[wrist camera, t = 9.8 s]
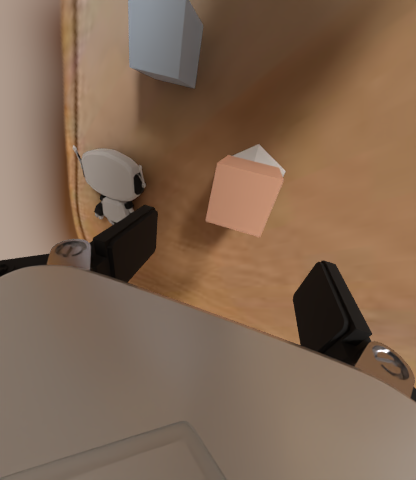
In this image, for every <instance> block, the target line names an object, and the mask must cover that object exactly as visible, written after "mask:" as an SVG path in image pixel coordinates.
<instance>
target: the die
mask: <svg viewBox="0 0 416 480" xmlns="http://www.w3.org/2000/svg"><path fill="white" fill-rule="evenodd" d="M233 156H234V157H238V158H242V159H246V160H250V161H254V162H258V163H262V164H266V165H270V166H274V167H278V168H279V169H280V171H281V174H282V176H284V174H285V170H284V169H283V168H282V167H281V166H280V165H279V164H278V163H277V162H276V161H275V160H274V159H273V158H272V157H271V156H270V155H269V154H268V153H267V152H266V151H265V150H264V149H263V148H262V147H261V146H260V145H259V144H258V145H256V146H253V147H251V148H249V149H246V150H244V151H242V152H240V153H237V154H235V155H233Z"/></svg>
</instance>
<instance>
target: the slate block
mask: <svg viewBox="0 0 416 480" xmlns="http://www.w3.org/2000/svg"><path fill="white" fill-rule="evenodd" d="M128 14H129V63H130V68H132V69H135V70H137V71H139V72H141V73H143V74H145V75H148V76H150V77H152V78H154V79H157V80H161V81H165V82H169V83H173V84H177V85H182V86H186V87H190V88H194V89H195V84H196V77H197V70H198V62H199V55H200V47H201V40H202V32H203V24H202V22H201V20H200V19H199V17H198V15H197V13H196V12H195V10H194V8H193V6H192V5H191V3H190V1H189V0H128Z"/></svg>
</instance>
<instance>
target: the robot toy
mask: <svg viewBox="0 0 416 480" xmlns="http://www.w3.org/2000/svg"><path fill="white" fill-rule="evenodd" d="M73 149H74V151H75V153H76V155H77V157H78V159H79V161H80V163H81V165H82V166H81V167H82V169H83V173H84V177H85V179H86V182H87V183H88V184H89V185H90V186H91V187H92V188H93V189H94V190H96V191H97V192H99V193H100V194H101V196H100V200H101V202H100V203H99V204H97V206H96V208H95V211H94V212H95V216H96V217H99V219H103V217H104V215H105V216H106V217H107V219H108V220H109V222H110V223H111V224H112V225H114V224H116V223H117V222H119V221H120V220H122V219H123V218H125V217H126V216H128V215H130V214H131V213H133V212H134V210H133V208H132V207H133V206H134V205H133V203H132V201H131V200H133V199H135V198H137V197H138V196H140V194H141V193H142V192H143V191H144V188H145V187H146V183H144V177H143V173H142V166H141V165H139V166H138V165H137V164H136V163H135V162H134V160H132V159H131V158H129V157H128V156H126V155H124V154H122V153H120V152H118V151H116V150H113V149H95V150H91V151H87V152H85V153H84V154H83V157H82V159H81V158H80V156H79V154H78V152H77V148H76V147H75V146H74V145H73Z"/></svg>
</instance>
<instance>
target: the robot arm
mask: <svg viewBox="0 0 416 480" xmlns="http://www.w3.org/2000/svg"><path fill="white" fill-rule="evenodd" d="M157 217H158V212H157V211H155V208H154V207H151V206H147V205H144V206H142V207H140V208H139V209H137V210H136V211H134V212H133V213H131V214H130V215H128V216H126V217H125V218H123V219H122V220H120V221H119V222H117V223H116V224H114V225H113V226H111V227H109V228H108V229H106V230H105V231H103V232H102V233H100V234H99V235H97V236H95V237H94V238H93V241H92V242H90V243H89V242H88V241H85V240H81V239H71V240H65V241H62V242H60V243H58V244H56V245H55V246H53V247H52V249H51V251H50V254H44V255H37V256H30V257H23V258H15V259H8V260H2V261H0V480H416V389H415V388H414V383H415V377H414V375H413V372H412V370H411V369H410V367H409V366H408V364H407V363H406V362H405V361H404V360H403V358H402V357H401V356H400V355H398V354H397V353H396V352H395V351H394V350H392V349H391V348H389V347H388V346H386V345H384V344H382V343H379V342H376V341H373V342H371V340H370V338H369V336H371V335H372V333H371V331H370V329H369V327H368V325H367V323H366V321H365V319H364V317H363V315H362V314H361V312H360V310H359V308H358V306H357V304H356V302H355V300H354V298H353V297H352V295H351V293H350V291H349V289H348V287H347V285H346V283H345V281H344V279H343V278H342V276H341V274H340V272H339V270H338V268H337V266H336V265H335V264H333V263H330V262H327V261H321V262H317V263H316V264H315V266H314V267H313V269H312V270H311V271H310V273H309V274H308V276H307V277H306V278H305V280H304V281H303V282H302V284H301V285H300V287H299V288H298V289H297V291H296V292H295V294H294V296H293V303H294V309H295V315H296V320H297V326H298V332H299V338H300V344H301V345H298V344H295V343H293V342H290V341H287V340H285V339H282V338H279V337H276V336H274V335H271V334H268V333H266V332H263V331H260V330H257V329H255V328H252V327H249V326H247V325H244V324H241V323H238V322H236V321H233V320H230V319H227V318H225V317H222V316H219V315H216V314H214V313H211V312H208V311H205V310H203V309H200V308H197V307H194V306H192V305H189V304H186V303H183V302H181V301H178V300H175V299H172V298H169V297H167V296H164V295H161V294H158V293H155V292H153V291H150V290H147V289H144V288H141V287H139V286H136V285H133V284H130V283H127V282H128V281H129V280H130V279H131V278H132V277H133V275H134V274H135V273H136V272H137V271H138V270H139V269H140V268H141V266H142V265H143V264H144V263H145V262H146V261H147V260H148V258H149V257H150V256H151V255H152V254H153V253H154V251H155V249H156V235H157Z"/></svg>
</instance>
